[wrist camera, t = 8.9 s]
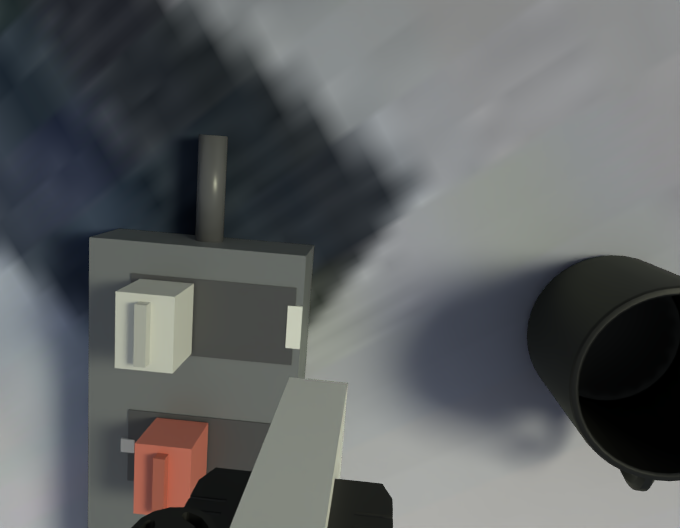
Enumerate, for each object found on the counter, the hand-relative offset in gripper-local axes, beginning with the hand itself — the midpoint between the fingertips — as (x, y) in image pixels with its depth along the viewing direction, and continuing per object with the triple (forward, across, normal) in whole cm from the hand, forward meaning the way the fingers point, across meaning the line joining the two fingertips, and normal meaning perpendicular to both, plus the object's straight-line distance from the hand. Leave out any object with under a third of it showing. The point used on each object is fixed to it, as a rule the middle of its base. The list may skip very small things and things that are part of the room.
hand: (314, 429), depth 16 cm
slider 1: (+18, -10, -3) cm, 20 cm away
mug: (+22, +15, -4) cm, 27 cm away
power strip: (+22, -9, -9) cm, 25 cm away
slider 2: (+17, -9, -11) cm, 22 cm away
